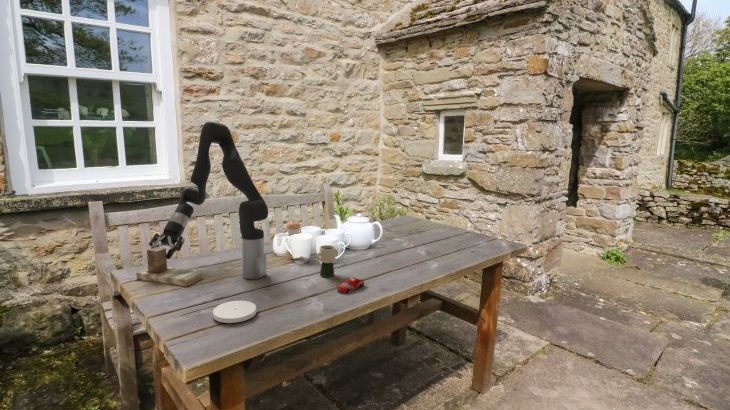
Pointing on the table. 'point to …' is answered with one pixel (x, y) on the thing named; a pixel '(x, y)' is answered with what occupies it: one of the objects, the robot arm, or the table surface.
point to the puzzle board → (172, 276)
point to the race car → (350, 285)
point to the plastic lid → (234, 311)
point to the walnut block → (156, 260)
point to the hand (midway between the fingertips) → (158, 257)
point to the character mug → (327, 259)
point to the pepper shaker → (292, 233)
